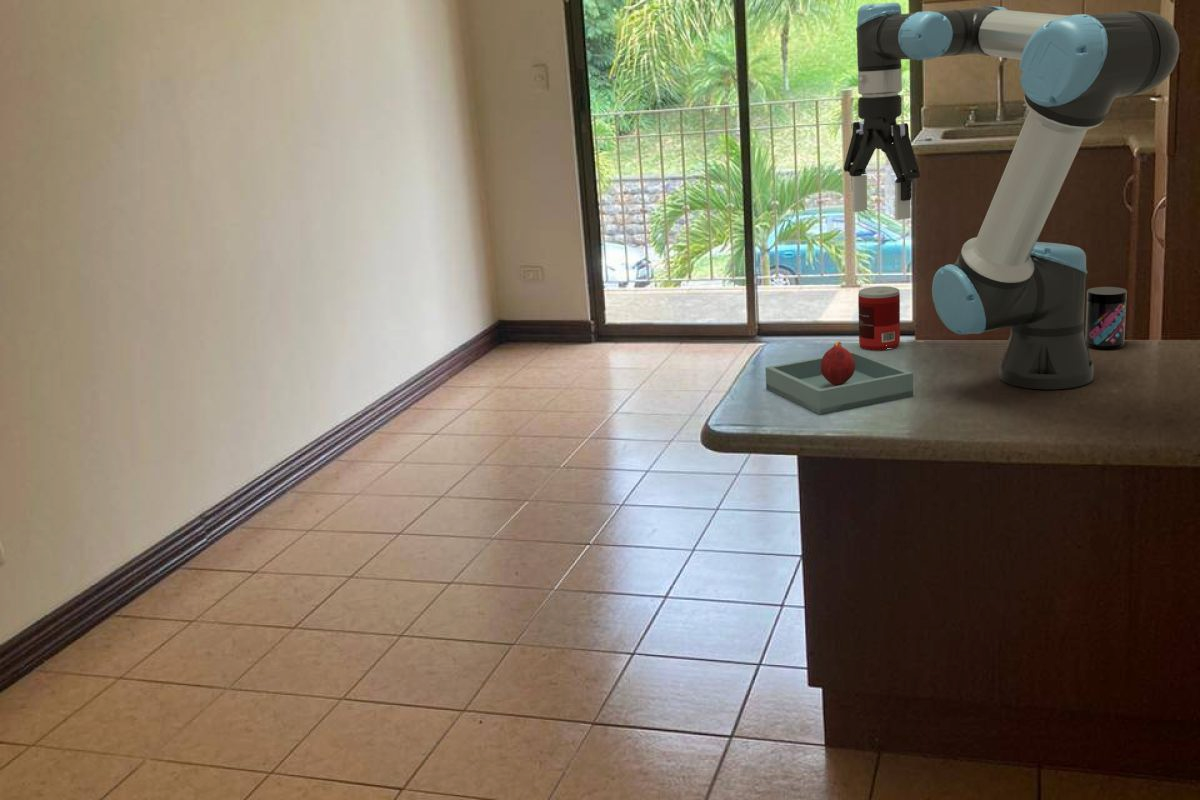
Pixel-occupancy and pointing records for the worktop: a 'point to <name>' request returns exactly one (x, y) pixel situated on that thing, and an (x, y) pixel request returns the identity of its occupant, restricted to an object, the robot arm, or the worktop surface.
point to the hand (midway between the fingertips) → (880, 215)
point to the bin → (822, 397)
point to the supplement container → (1105, 317)
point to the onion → (837, 365)
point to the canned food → (879, 318)
